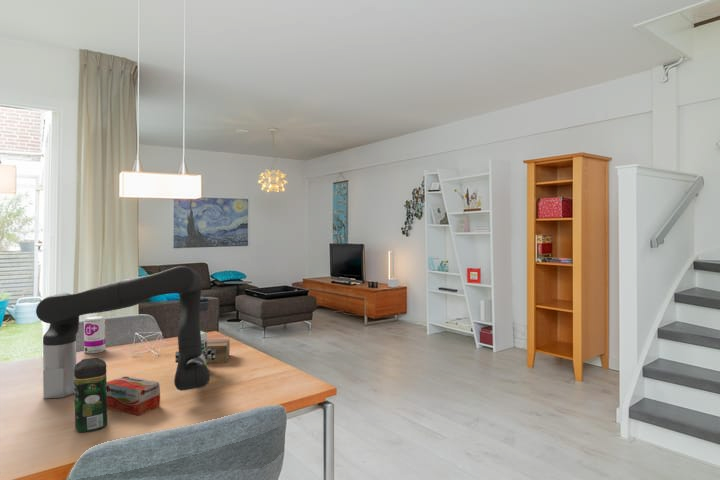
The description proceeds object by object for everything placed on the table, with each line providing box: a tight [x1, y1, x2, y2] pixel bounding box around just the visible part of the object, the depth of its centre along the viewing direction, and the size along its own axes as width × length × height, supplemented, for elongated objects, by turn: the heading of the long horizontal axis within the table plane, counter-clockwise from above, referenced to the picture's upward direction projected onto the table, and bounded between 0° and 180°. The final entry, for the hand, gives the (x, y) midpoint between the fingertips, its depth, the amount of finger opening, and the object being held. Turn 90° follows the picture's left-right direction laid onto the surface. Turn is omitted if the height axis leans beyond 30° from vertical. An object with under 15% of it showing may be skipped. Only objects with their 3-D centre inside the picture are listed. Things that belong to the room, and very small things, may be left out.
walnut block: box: [207, 338, 231, 364], centre depth 192 cm, size 11×11×7 cm
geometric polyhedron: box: [131, 331, 163, 358], centre depth 199 cm, size 12×11×9 cm
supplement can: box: [83, 315, 106, 354], centre depth 203 cm, size 8×8×15 cm
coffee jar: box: [73, 357, 108, 433], centre depth 128 cm, size 10×8×19 cm
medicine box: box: [107, 375, 161, 416], centre depth 142 cm, size 15×8×8 cm, turn 68°
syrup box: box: [200, 330, 208, 367], centre depth 179 cm, size 6×6×14 cm
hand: (196, 350), depth 177 cm, fingers open, 8 cm apart
